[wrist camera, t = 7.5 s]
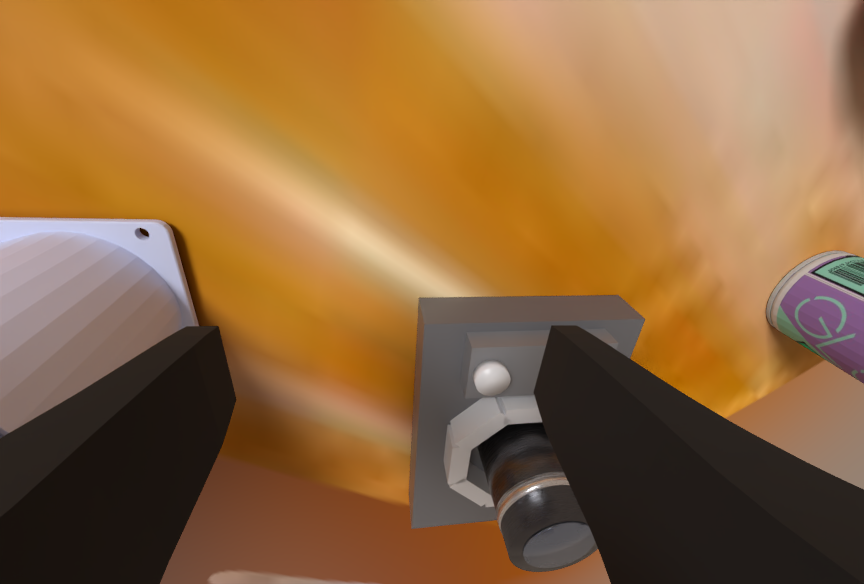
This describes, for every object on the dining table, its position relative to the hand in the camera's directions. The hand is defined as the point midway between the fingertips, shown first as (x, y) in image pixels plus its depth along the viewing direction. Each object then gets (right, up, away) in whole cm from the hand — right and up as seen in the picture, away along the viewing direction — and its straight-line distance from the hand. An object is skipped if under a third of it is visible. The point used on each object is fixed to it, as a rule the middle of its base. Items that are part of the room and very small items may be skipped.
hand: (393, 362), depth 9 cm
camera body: (+5, -6, +15) cm, 17 cm away
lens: (+5, -6, +13) cm, 16 cm away
